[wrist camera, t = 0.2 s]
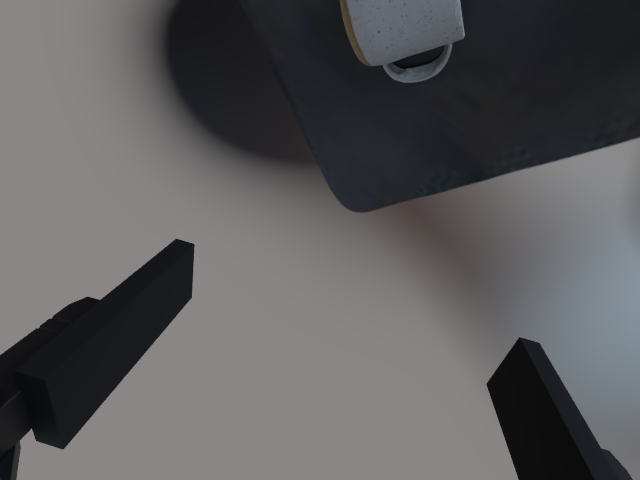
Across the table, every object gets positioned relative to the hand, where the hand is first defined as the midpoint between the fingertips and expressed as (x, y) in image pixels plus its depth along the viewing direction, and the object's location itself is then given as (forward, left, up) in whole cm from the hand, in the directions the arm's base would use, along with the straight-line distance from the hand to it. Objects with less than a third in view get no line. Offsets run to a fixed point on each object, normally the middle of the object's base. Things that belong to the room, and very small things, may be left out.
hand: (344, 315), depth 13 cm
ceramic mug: (-4, -4, -28) cm, 28 cm away
